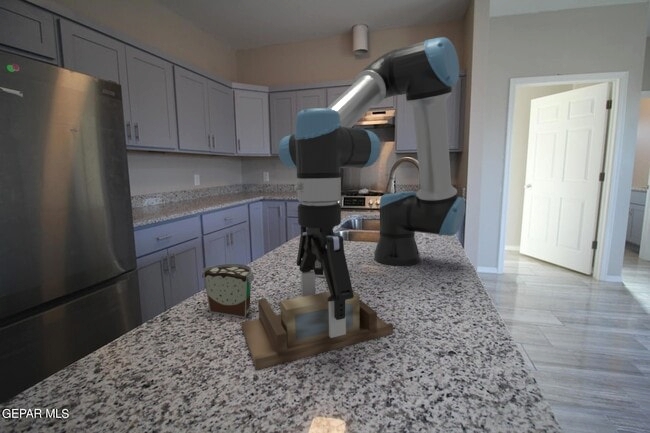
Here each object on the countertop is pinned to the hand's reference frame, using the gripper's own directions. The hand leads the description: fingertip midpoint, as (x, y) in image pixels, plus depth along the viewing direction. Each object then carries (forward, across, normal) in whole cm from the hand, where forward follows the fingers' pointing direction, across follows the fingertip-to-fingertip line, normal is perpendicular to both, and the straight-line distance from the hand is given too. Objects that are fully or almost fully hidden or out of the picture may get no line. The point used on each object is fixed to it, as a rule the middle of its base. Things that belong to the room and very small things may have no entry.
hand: (321, 317), depth 57 cm
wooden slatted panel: (+4, -4, 0) cm, 5 cm away
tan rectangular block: (+3, 0, 0) cm, 3 cm away
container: (+4, -34, +15) cm, 37 cm away
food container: (+4, -20, -13) cm, 24 cm away
